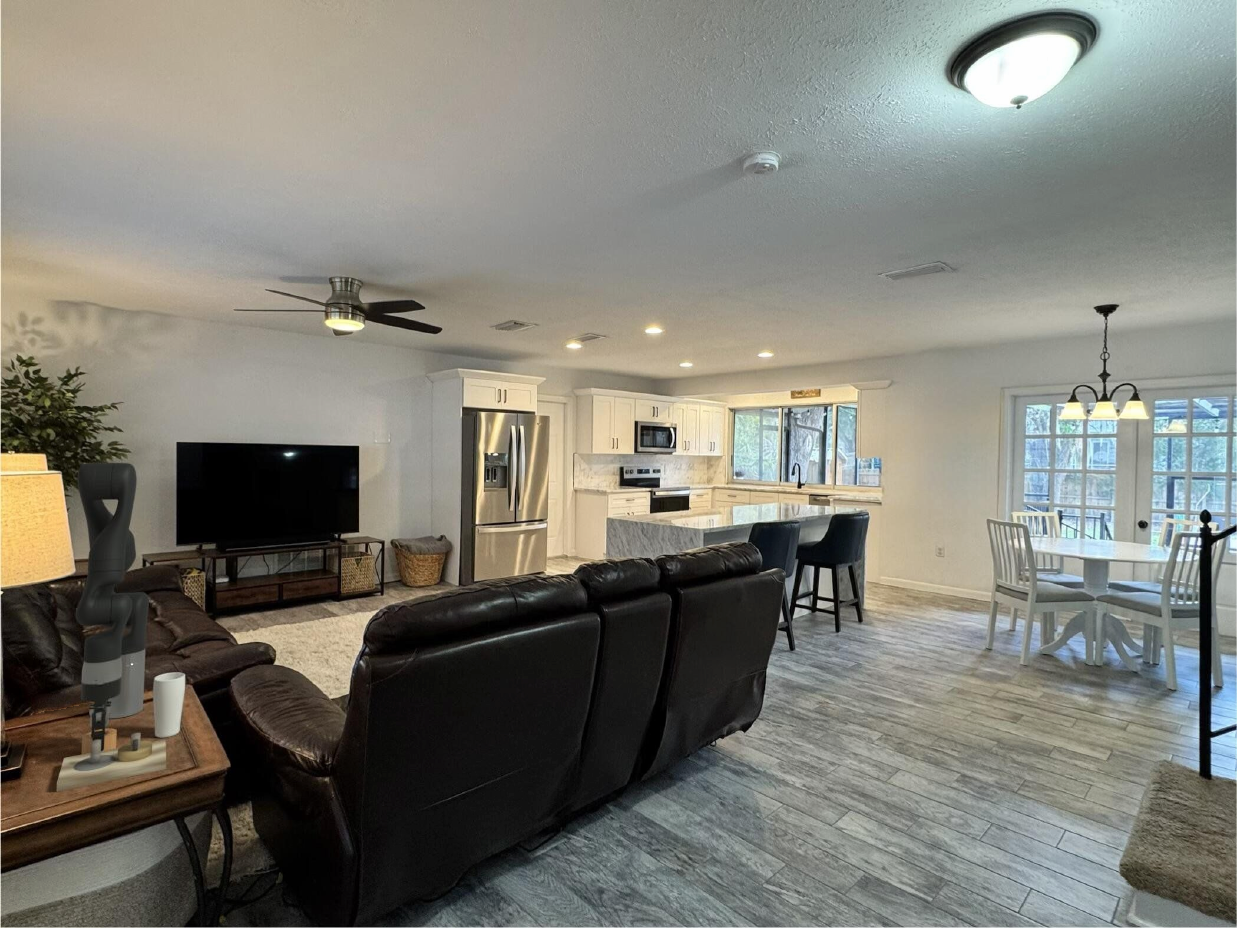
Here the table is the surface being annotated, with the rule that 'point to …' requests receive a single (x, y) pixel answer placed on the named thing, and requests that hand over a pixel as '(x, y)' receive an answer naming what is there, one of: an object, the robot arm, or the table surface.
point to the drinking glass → (168, 703)
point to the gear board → (112, 763)
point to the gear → (108, 741)
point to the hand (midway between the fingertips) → (99, 745)
